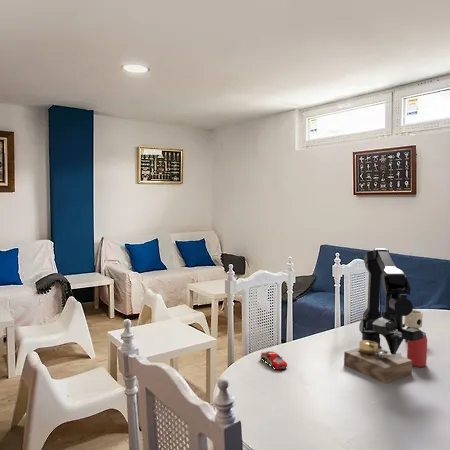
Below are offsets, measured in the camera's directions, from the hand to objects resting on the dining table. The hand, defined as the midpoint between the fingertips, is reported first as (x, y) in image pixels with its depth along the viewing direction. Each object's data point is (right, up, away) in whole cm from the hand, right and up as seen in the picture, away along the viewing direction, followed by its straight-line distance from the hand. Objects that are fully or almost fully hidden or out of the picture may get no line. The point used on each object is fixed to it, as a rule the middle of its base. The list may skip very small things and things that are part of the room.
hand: (393, 354), depth 148 cm
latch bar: (-1, -1, +1) cm, 2 cm away
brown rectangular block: (-3, -7, +6) cm, 10 cm away
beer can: (+13, -7, +11) cm, 19 cm away
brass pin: (-5, -7, +9) cm, 13 cm away
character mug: (+23, -6, +37) cm, 44 cm away
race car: (-40, -7, +10) cm, 42 cm away
